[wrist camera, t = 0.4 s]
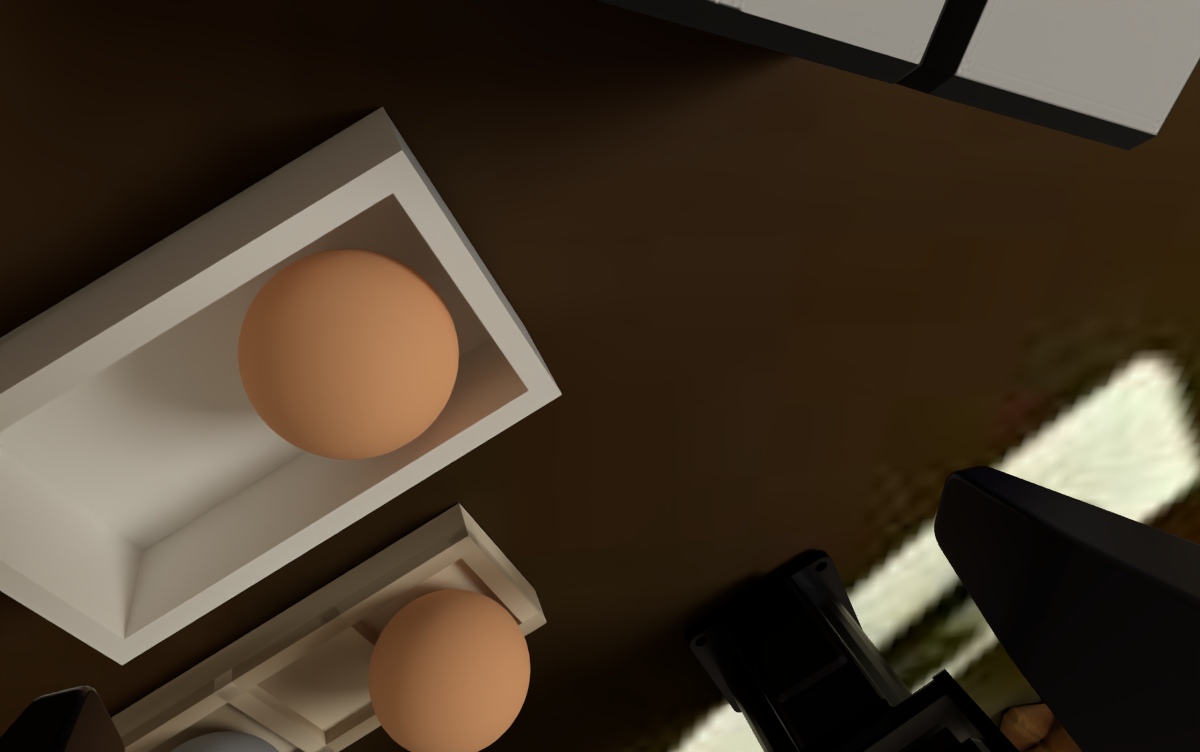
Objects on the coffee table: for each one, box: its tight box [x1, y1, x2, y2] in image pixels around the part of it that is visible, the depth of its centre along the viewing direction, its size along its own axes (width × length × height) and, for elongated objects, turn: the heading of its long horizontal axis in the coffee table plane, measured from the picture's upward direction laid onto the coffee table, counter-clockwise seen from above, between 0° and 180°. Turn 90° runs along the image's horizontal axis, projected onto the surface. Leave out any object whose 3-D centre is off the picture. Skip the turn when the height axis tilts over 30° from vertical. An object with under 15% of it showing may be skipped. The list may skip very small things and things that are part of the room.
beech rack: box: [111, 504, 546, 752], centre depth 25 cm, size 5×13×2 cm, turn 116°
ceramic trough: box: [0, 107, 562, 665], centre depth 18 cm, size 7×12×4 cm, turn 116°
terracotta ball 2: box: [368, 589, 530, 752], centre depth 23 cm, size 5×5×5 cm
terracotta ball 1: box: [238, 249, 459, 460], centre depth 17 cm, size 5×5×5 cm
